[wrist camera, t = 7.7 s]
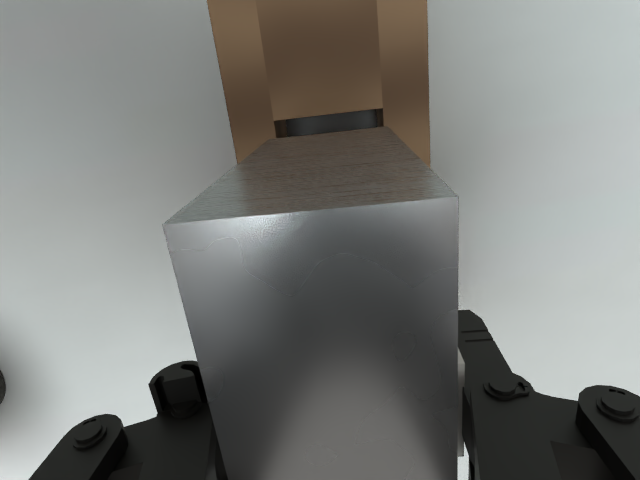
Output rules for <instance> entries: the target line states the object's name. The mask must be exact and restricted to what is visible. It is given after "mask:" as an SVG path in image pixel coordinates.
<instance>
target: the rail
mask: <svg viewBox="0 0 640 480" xmlns="http://www.w3.org/2000/svg"><path fill="white" fill-rule="evenodd" d="M207 4H208V10H209V15H210V20H211V26H212V31H213V36H214V42H215V47H216V52H217V57H218V63H219V68H220V73H221V79H222V84H223V89H224V95H225V100H226V105H227V111H228V116H229V121H230V127H231V132H232V137H233V143H234V148H235V153H236V159H237V164H239V163H240V162H241V161H242V160H244V159H245V158H246V157H247V156H249V155H250V154H251V153H252V152H254V151H255V150H256V149H257V148H259V147H260V146H261V145H262V144H264V143H265V142H266V141H267V140H269V139H276V138H285V137H288V135H287V127H286V120H285V119H293V118H302V117H310V116H319V115H328V114H336V113H345V112H353V111H362V110H371V109H376V110H377V126H378V127H385V126H388V127H389V128H390V129H391V130H392V131H393V132H394V133H395V134H396V135H397V136H398V137H399V138H400V139H401V140H402V141H403V142H404V143H405V144H406V145H407V146H408V147H409V148H410V149H411V150H412V151H413V152H414V153H415V154H416V155H417V156H418V157H419V158H420V159H421V160H422V161H423V162H424V163H425V164H426V165H427V166H428V167H429V168H430V126H429V75H428V23H427V0H207Z"/></svg>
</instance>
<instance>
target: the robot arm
mask: <svg viewBox="0 0 640 480" xmlns="http://www.w3.org/2000/svg"><path fill="white" fill-rule="evenodd" d="M148 385H149V388H150V391H151V394H152V397H153V400H154V403H155V406H156V409H157V412H158V413H157V417H154V418H152V419H149V420H146V421H143V422H139V423H136V424H133V425H129V426H126V427H123V424H122V421H121V419H119V418H118V417H117V416H116V415H111V414H104V415H98V416H94V417H92V418H89V419H87V420H84V421H83V422H81V423H79V424H78V425H76V426H75V427H73V428H72V429H71V430H70V431H69V432H68V433H67V434H66V435H65V436H64V437H63V438H62V439H61V440H60V442H59V443H58V444H57V445H56V447H55V448H54V449H53V450H52V451H51V453H50V454H49V455H48V456H47V458H46V459H45V460H44V461H43V462H42V464H41V465H40V466H39V467H38V469H37V470H36V471H35V472H34V474H33V475H32V476H31V477H30V478H29V480H228V477H227V473H226V469H225V466H224V462H223V458H222V454H221V450H220V446H219V442H218V438H217V435H216V431H215V427H214V423H213V419H212V415H211V411H210V407H209V404H208V400H207V396H206V392H205V388H204V384H203V380H202V376H201V373H200V369H199V365H198V362H197V361H182V362H178V363H175V364H172V365H170V366H168V367H166V368H164V369H162V370H161V371H159V372H158V373H157V374H156V375H155V376H154V377H153V378H152V380H151V381H150V383H149V384H148ZM464 442H465V445H466V449H467V452H468V455H469V480H640V397H639V396H638V395H635V394H633V393H631V392H629V391H627V390H625V389H621V388H617V387H613V386H604V385H595V386H591V387H587V388H585V389H584V390H583V391H581V392H580V393H579V399H578V401H574V400H568V399H562V398H556V397H551V396H547V395H543V394H540V393H538V392H535V391H534V389H533V387H532V386H531V384H530V383H529V382H528V381H526V380H525V379H524V378H522V377H521V376H519V375H516V374H514V373H512V371H511V369H510V368H509V366H508V364H507V362H506V361H505V359H504V357H503V355H502V354H501V352H500V350H499V348H498V347H497V345H496V343H495V341H493V338H492V336H491V334H490V333H489V332H488V329H487V327H486V326H485V324H484V322H483V320H482V319H481V318H480V317H478V316H477V315H476V314H474V313H473V312H471V311H470V310H459V311H458V451H457V457H460V456H464Z"/></svg>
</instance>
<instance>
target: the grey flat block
mask: <svg viewBox="0 0 640 480" xmlns="http://www.w3.org/2000/svg"><path fill="white" fill-rule="evenodd" d="M162 225H163V229H164V233H165V237H166V241H167V245H168V249H169V252H170V256H171V260H172V264H173V268H174V272H175V276H176V280H177V283H178V287H179V291H180V295H181V299H182V303H183V307H184V311H185V314H186V318H187V322H188V326H189V330H190V334H191V338H192V342H193V345H194V349H195V353H196V357H197V361H198V365H199V369H200V373H201V376H202V380H203V384H204V388H205V392H206V396H207V400H208V404H209V407H210V411H211V415H212V419H213V423H214V427H215V431H216V435H217V438H218V442H219V446H220V450H221V454H222V458H223V462H224V466H225V469H226V473H227V477H228V480H457V451H458V196H457V195H456V194H455V193H454V192H453V191H452V190H451V189H450V188H449V187H448V186H447V185H446V184H445V183H444V182H443V181H442V180H441V179H440V178H439V177H438V176H437V175H436V174H435V173H434V172H433V171H432V170H431V169H430V168H429V167H428V166H427V165H426V164H425V163H424V162H423V161H422V160H421V159H420V158H419V157H418V156H417V155H416V154H415V153H414V152H413V151H412V150H411V149H410V148H409V147H408V146H407V145H406V144H405V143H404V142H403V141H402V140H401V139H400V138H399V137H398V136H397V135H396V134H395V133H394V132H393V131H392V130H391V129H390V128H389V127H388V126H385V127H376V128H367V129H358V130H349V131H340V132H331V133H322V134H312V135H303V136H294V137H285V138H276V139H269V140H267V141H266V142H265V143H264V144H262V145H261V146H260V147H259V148H257V149H256V150H255V151H254V152H252V153H251V154H250V155H249V156H247V157H246V158H245V159H244V160H242V161H241V162H240V163H239V164H237V165H236V166H235V167H234V168H232V169H231V170H230V171H229V172H227V173H226V174H225V175H224V176H222V177H221V178H220V179H219V180H217V181H216V182H215V183H214V184H212V185H211V186H210V187H209V188H207V189H206V190H205V191H204V192H202V193H201V194H200V195H199V196H197V197H196V198H195V199H194V200H192V201H191V202H190V203H189V204H187V205H186V206H185V207H184V208H182V209H181V210H180V211H179V212H177V213H176V214H175V215H174V216H172V217H171V218H170V219H169V220H167V221H166V222H165V223H164V224H162Z"/></svg>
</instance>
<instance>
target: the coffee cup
mask: <svg viewBox="0 0 640 480" xmlns="http://www.w3.org/2000/svg"><path fill="white" fill-rule="evenodd" d="M4 395H5V382H4V378H3V375H2V373H1V371H0V404H1V402H2V401H3V398H4Z"/></svg>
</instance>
